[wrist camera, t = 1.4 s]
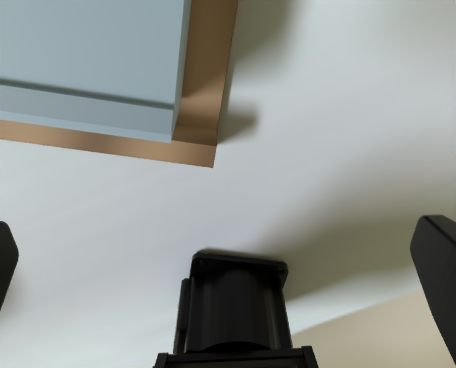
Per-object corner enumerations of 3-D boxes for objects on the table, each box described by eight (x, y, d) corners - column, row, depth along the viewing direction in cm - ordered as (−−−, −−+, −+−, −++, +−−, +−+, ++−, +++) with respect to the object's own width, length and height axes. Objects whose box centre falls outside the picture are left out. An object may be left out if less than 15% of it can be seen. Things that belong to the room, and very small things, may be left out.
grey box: (198, -64, 15) (189, -67, 11) (181, 102, 19) (169, 146, 15) (16, -99, 14) (-66, -117, 10) (35, 80, 18) (-20, 120, 14)
